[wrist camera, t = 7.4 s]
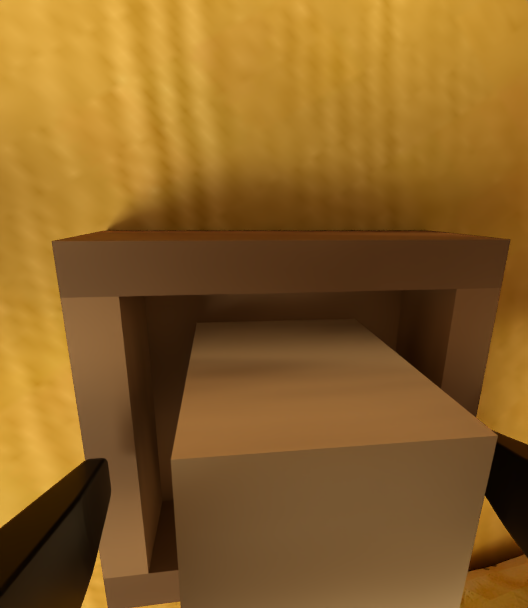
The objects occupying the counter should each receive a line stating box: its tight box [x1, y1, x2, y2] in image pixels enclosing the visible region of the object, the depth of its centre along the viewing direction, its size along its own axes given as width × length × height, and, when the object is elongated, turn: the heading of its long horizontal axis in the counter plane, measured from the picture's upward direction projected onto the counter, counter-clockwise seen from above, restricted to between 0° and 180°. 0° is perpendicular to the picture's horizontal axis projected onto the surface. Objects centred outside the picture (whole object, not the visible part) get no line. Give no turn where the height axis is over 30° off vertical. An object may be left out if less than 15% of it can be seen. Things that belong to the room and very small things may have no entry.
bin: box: [52, 231, 510, 608], centre depth 11 cm, size 10×10×4 cm
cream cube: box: [171, 319, 498, 608], centre depth 9 cm, size 5×5×6 cm
